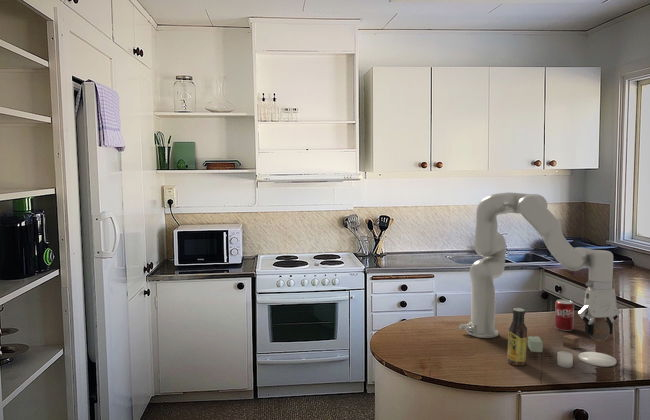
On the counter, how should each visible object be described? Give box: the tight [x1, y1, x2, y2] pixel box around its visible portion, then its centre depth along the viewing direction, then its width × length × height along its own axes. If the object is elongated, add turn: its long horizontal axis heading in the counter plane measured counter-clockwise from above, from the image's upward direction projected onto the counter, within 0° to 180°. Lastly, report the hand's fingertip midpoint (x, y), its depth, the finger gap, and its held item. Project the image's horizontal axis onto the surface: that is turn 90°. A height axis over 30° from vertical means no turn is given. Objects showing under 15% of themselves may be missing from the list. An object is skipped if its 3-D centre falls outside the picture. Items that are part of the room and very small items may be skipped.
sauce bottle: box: [506, 307, 528, 366], centre depth 181 cm, size 7×6×20 cm
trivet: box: [578, 351, 617, 368], centre depth 184 cm, size 12×12×1 cm
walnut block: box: [562, 334, 580, 350], centre depth 197 cm, size 4×4×4 cm
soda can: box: [554, 299, 575, 332], centre depth 218 cm, size 7×7×12 cm
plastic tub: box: [556, 350, 574, 369], centre depth 180 cm, size 5×5×4 cm
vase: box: [589, 318, 611, 342], centre depth 182 cm, size 7×7×9 cm
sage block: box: [527, 335, 544, 353], centre depth 195 cm, size 4×6×4 cm, turn 170°
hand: (598, 333), depth 183 cm, fingers closed on vase, 6 cm apart
